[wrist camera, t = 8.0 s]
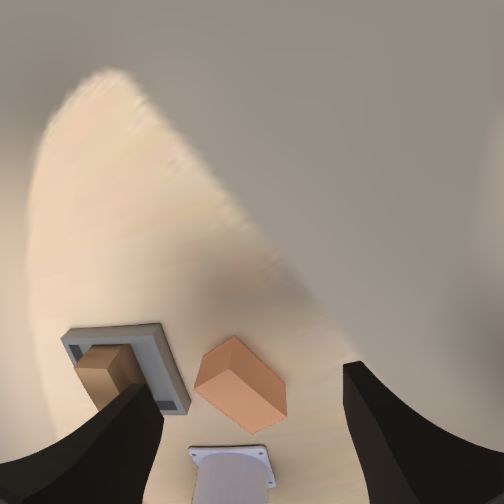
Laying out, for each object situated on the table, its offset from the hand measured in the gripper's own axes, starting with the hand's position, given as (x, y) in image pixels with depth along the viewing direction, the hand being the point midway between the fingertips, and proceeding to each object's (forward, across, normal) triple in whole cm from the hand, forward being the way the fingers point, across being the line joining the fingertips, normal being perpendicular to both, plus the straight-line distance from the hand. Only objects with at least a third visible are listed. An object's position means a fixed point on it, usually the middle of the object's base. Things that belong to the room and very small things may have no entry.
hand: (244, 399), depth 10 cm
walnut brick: (+10, +12, +6) cm, 17 cm away
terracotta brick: (+11, +2, +7) cm, 13 cm away
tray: (+10, +12, +6) cm, 17 cm away
